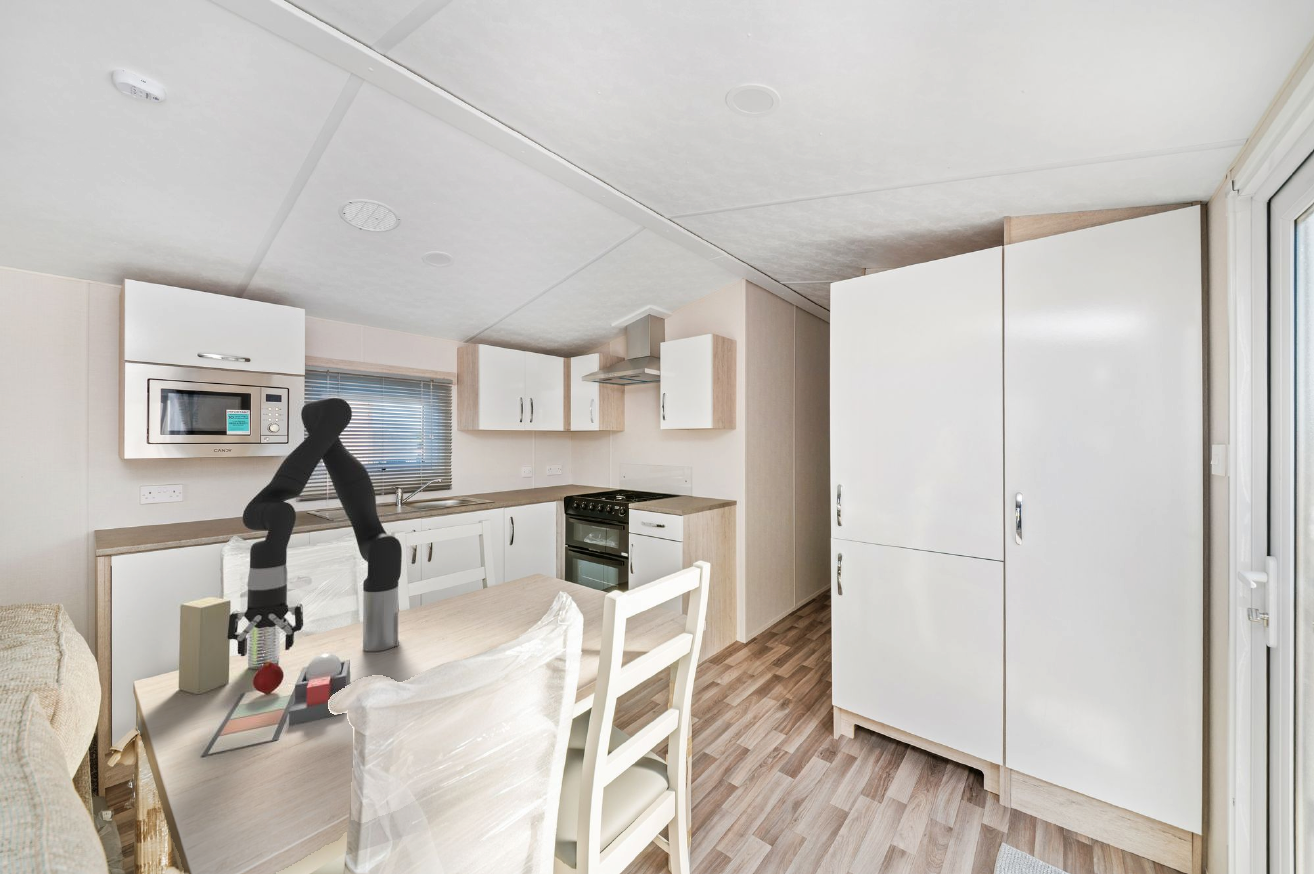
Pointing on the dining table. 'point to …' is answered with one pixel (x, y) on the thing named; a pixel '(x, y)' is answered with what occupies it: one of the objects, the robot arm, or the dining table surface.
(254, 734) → the game mat
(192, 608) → the tall beige box
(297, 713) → the grey open tray
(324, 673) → the white ball
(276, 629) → the water bottle
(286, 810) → the dining table surface
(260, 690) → the onion
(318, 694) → the red die
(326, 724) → the dining table surface
